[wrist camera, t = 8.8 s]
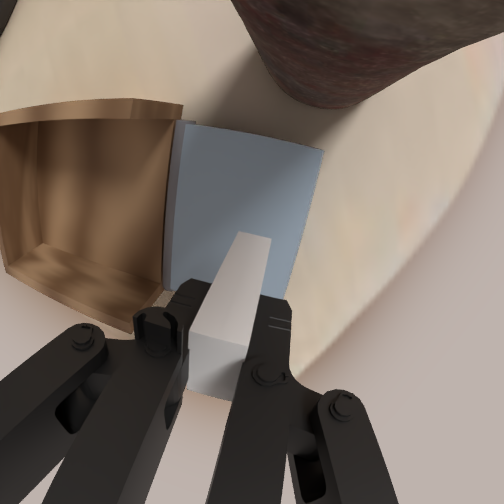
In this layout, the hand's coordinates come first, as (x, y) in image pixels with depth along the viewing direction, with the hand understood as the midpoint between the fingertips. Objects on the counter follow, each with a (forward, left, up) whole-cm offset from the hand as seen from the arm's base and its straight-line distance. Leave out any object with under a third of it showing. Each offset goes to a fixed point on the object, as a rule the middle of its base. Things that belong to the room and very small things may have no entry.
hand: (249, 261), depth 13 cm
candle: (+1, +12, -6) cm, 13 cm away
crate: (-14, 0, -6) cm, 15 cm away
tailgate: (-6, 0, -5) cm, 8 cm away
